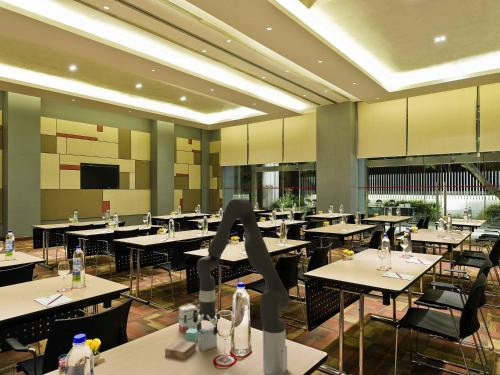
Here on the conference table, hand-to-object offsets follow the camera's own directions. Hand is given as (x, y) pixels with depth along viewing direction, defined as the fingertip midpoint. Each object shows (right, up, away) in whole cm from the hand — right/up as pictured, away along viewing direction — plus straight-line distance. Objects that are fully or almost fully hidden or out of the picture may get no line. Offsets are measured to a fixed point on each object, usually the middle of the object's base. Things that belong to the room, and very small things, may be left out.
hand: (207, 332), depth 170 cm
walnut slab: (-12, -7, -5) cm, 15 cm away
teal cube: (-8, -7, +7) cm, 13 cm away
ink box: (-13, -7, +21) cm, 25 cm away
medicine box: (0, -7, 0) cm, 7 cm away
